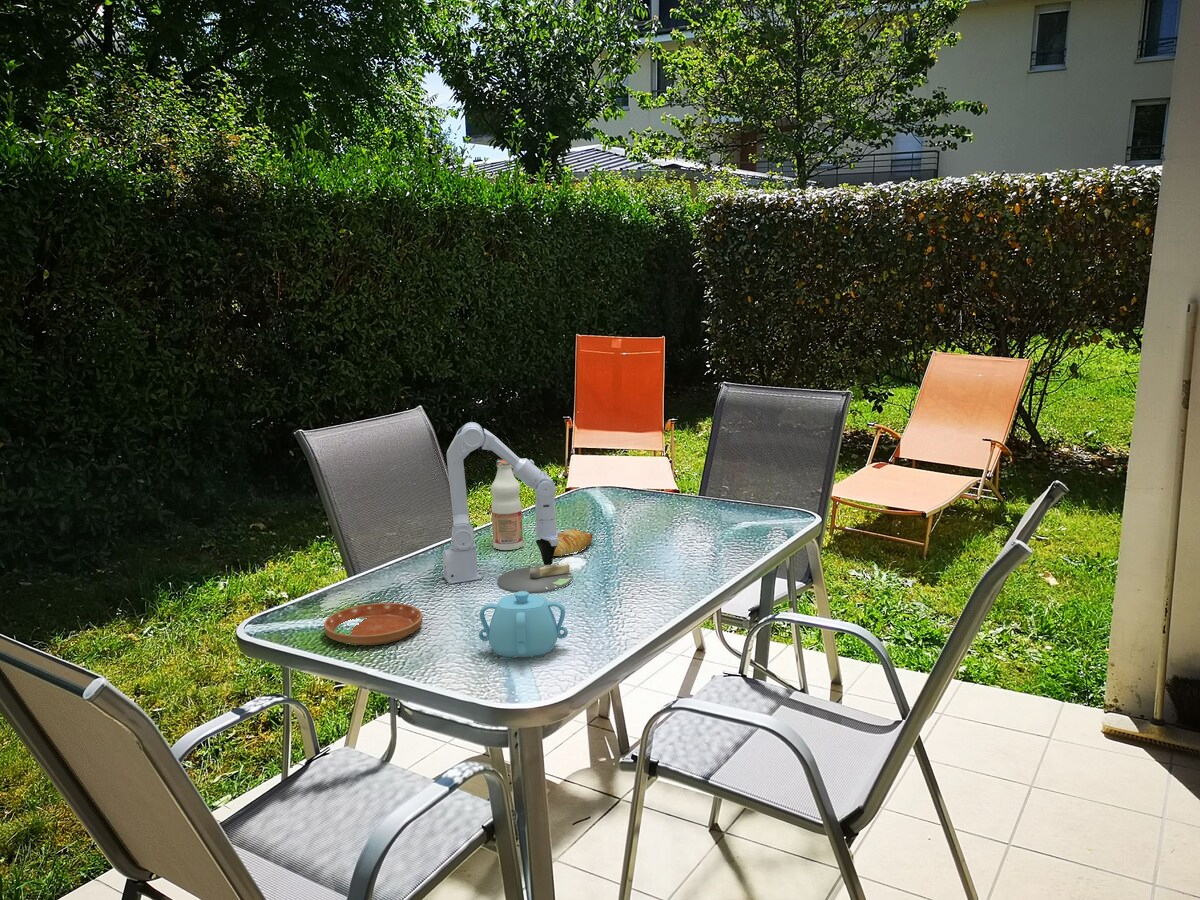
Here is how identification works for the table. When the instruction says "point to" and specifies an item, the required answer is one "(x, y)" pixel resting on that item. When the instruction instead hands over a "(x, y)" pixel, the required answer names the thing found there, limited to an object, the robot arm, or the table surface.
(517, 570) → the dial
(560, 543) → the croissant
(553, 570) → the pointer
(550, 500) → the robot arm
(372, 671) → the table surface
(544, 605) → the decorative pot
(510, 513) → the fruit juice
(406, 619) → the saucer
